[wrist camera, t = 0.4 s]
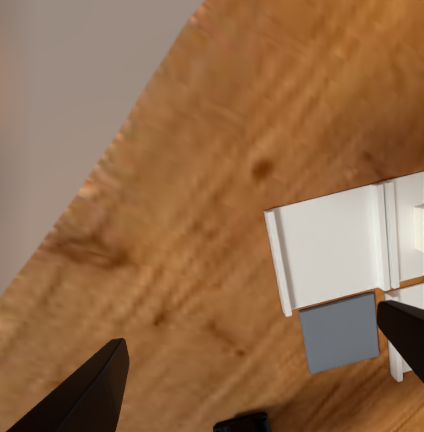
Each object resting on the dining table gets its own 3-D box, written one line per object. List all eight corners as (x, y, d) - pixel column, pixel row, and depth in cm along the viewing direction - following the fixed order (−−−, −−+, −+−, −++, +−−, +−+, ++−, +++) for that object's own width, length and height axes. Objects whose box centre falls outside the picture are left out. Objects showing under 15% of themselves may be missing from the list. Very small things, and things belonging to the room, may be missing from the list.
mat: (376, 353, 26) (379, 356, 25) (309, 371, 26) (310, 374, 25) (370, 291, 24) (373, 293, 24) (298, 310, 24) (300, 313, 23)
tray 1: (382, 284, 24) (390, 289, 23) (282, 310, 24) (286, 316, 23) (374, 183, 22) (383, 183, 21) (263, 210, 21) (267, 212, 20)
